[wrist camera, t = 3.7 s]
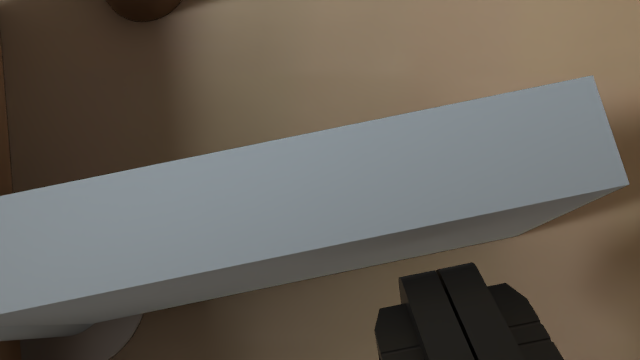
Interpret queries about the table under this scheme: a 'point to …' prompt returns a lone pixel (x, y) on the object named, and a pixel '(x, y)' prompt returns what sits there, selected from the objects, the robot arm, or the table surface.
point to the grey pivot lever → (300, 207)
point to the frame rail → (69, 351)
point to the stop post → (143, 8)
